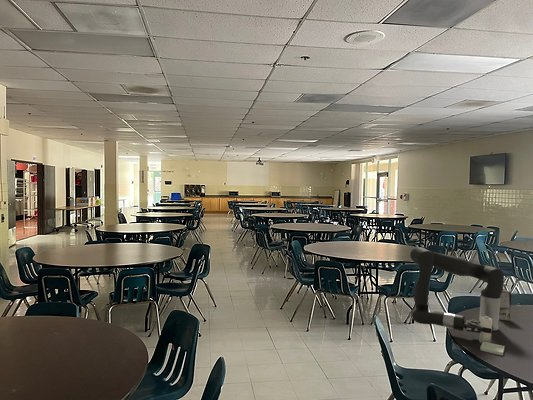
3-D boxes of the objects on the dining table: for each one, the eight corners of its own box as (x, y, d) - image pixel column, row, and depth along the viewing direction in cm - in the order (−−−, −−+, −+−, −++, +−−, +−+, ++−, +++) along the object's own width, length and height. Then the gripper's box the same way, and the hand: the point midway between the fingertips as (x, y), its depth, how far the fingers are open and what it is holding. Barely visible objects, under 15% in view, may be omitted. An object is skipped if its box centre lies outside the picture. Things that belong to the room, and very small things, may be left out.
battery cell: (479, 339, 199) (481, 314, 198) (491, 342, 196) (492, 316, 195) (478, 342, 195) (480, 316, 194) (490, 345, 192) (491, 319, 191)
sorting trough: (482, 344, 193) (482, 341, 193) (504, 349, 188) (504, 346, 188) (480, 350, 185) (480, 347, 185) (502, 355, 180) (502, 352, 180)
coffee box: (510, 320, 229) (512, 293, 229) (498, 319, 231) (499, 292, 230) (504, 315, 238) (505, 289, 238) (492, 314, 240) (494, 288, 239)
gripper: (451, 317, 197) (490, 326, 187) (456, 310, 209) (494, 318, 199) (450, 332, 197) (489, 341, 188) (456, 324, 209) (493, 333, 200)
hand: (491, 329), depth 194 cm, fingers closed on battery cell, 5 cm apart
